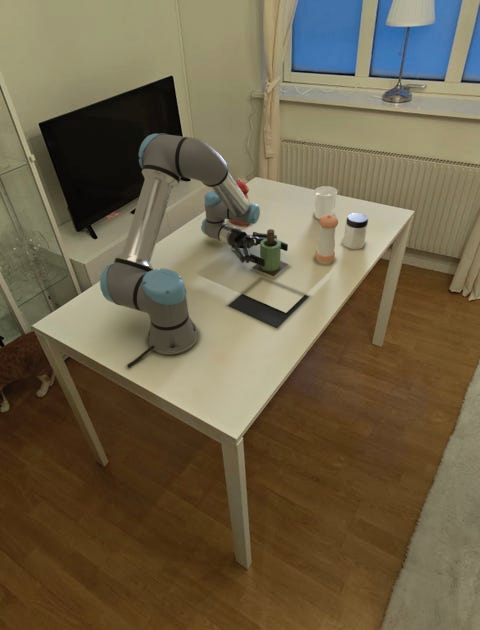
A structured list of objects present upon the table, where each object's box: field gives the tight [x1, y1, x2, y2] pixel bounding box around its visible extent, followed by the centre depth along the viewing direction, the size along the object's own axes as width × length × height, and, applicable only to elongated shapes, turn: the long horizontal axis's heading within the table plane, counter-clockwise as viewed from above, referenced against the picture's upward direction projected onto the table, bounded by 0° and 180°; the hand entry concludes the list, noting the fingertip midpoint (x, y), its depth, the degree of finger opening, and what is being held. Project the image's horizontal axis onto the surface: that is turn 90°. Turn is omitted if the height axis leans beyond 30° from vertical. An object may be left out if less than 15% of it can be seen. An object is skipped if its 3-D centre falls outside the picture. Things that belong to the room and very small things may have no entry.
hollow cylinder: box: [259, 238, 282, 272], centre depth 161 cm, size 7×7×10 cm
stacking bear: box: [230, 179, 251, 227], centre depth 190 cm, size 11×10×18 cm
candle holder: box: [314, 185, 338, 220], centre depth 193 cm, size 10×10×12 cm
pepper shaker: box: [314, 214, 339, 263], centre depth 163 cm, size 7×7×19 cm
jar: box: [342, 212, 369, 250], centre depth 173 cm, size 9×8×12 cm
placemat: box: [228, 293, 309, 329], centre depth 150 cm, size 20×20×1 cm
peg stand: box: [252, 228, 289, 277], centre depth 160 cm, size 10×10×16 cm
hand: (275, 255), depth 160 cm, fingers open, 13 cm apart
